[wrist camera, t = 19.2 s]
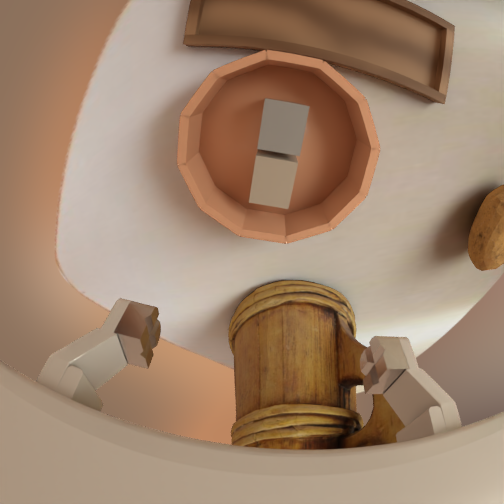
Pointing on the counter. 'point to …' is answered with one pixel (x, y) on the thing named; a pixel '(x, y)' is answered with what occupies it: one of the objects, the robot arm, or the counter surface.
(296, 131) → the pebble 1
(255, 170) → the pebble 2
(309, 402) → the tankard
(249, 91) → the bowl
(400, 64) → the parts tray
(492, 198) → the potato
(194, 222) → the counter surface
